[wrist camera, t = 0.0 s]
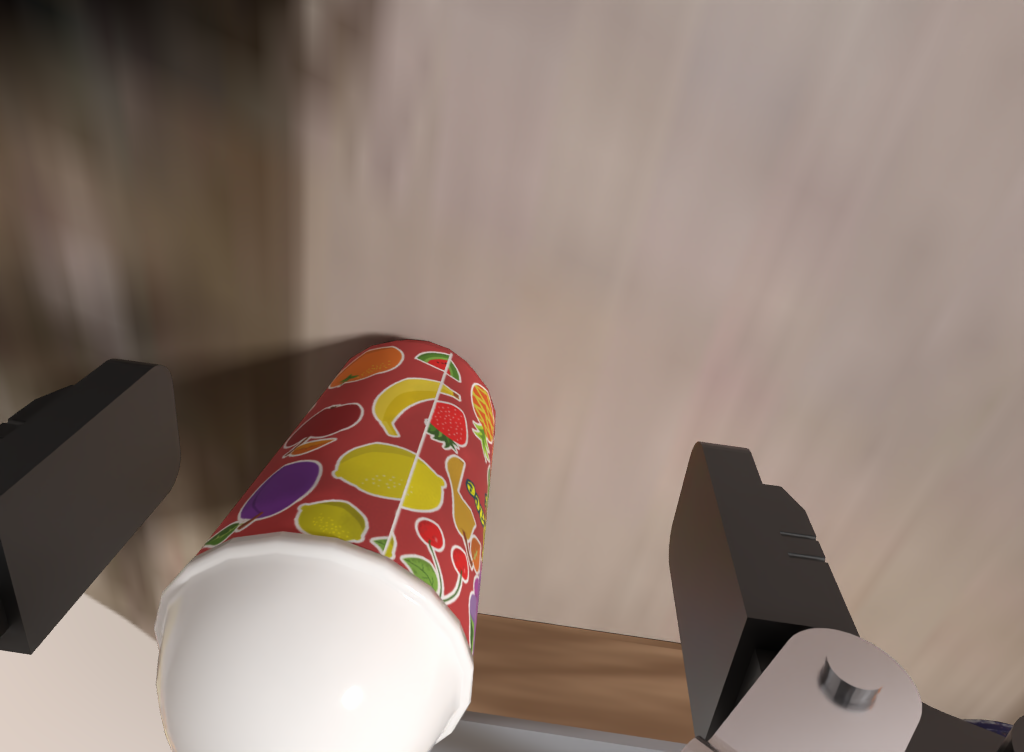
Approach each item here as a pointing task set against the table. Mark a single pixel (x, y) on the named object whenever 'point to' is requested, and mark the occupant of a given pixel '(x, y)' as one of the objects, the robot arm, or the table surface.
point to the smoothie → (342, 573)
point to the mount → (571, 692)
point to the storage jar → (992, 726)
